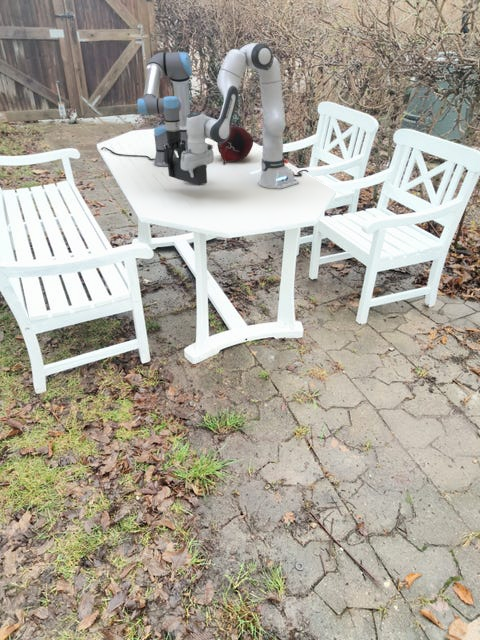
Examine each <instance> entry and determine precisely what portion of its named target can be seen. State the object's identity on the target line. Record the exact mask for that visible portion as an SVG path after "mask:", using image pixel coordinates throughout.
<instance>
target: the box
mask: <svg viewBox="0 0 480 640" xmlns="http://www.w3.org/2000/svg"><path fill="white" fill-rule="evenodd" d="M172 164H173V166H174V177H171V176H170V171H169V169H168V168H167V170H168V177H171V178H173V179H177V180H180V181H183V182H186V183H189V184H192V185H196V186H201V185H204V184H205V185H206V184H207V183H208V176H207V175H208V173H207V168H206V165H201V166H198V167H196V168H194V169H193V171H192V172H193V173H194V174H195V177H193V178H192V177H191V174H190V172H189V171H188V170H187V171H185V170H182V169H181V158H179V156H178V157H177V156H176V157H174V158H173V161H172Z"/></svg>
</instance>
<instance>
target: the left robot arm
mask: <svg viewBox="0 0 480 640" xmlns="http://www.w3.org/2000/svg"><path fill="white" fill-rule="evenodd" d="M145 75H146V76H145V82H144V90H143V95H142V97H140V98H138V99H137V102H136V103H137V104H136V105H137V111H138V113H139V114H140V115H164V124H162V125H158V126H156V127H155V128H154V129H153V136H154V145H155V155H154V158H151V157H149V156H148V155H143V154H142V155H139V154H123V153H118V152H115V151H113V150H111V149H110V148H108V147H106V146H103V147H101V149H100V150H103V149H105V150H107V151H109V152H111V153H112V154H114V155H117V156H122V157H138V158H139V157H141V158H148V160H150V161H154V165H155V166H157V167H163V168H164V167H165V168H167V170H168V169H169V171H170V176H171V178H173V177H174V166H173V164H172V161H173V158H174V157H177V156H178V158H181V154H182V153H183V151H187V150H186V149H185V147H188V144H187V140H188V135H187V130H186V120H187V116H188V115H189V114H190V113H191V107H190V106H191V105H190V95H189V83H188V82H189V81H190V79H191V76H193V68H192V62H191V58H190V55H189V53H188V52H184V51H183V52H182V51H172V52H171V51H169V52H166V51H165V52H163V51H161V52H158V53H156V54H154V55H153V56H152V57H150V59H149V60H148V61H147V63H146V66H145ZM163 77H169V80H170V82H172V88H173V95H171V96H170V95H168V96H164V97H159V92H160V84H161V79H163ZM170 176H169V177H170Z"/></svg>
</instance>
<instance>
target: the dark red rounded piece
mask: <svg viewBox="0 0 480 640" xmlns="http://www.w3.org/2000/svg"><path fill="white" fill-rule="evenodd" d="M253 146H254V138H253V137H252V135H251V134H250V132H249V131H248V130H246V129H245V128H244V127H241V126H231V133H230V136H229V138H228V140H227V141H226V142H224V143H217V150H218V153H219V154H220V157H221V159H222V160H223V162H222V163H223V165H225V163H226V162H227V161H228V162H238V161H242V160H244V159H245V158H248V156H249V155H250V152H251V151H252V148H253Z"/></svg>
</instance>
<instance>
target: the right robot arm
mask: <svg viewBox="0 0 480 640" xmlns="http://www.w3.org/2000/svg"><path fill="white" fill-rule="evenodd" d="M246 70H256V71H257V72H258V76H259V90H260V99H261V107H262V113H263V114H262V117H261V118H262V119H261V125H262V126H261V129H262V130H261V133H262V158H261V169H258V170H255V171H252V172H250V175H252V174H256V173H259V172H261V175H260V178H259V179H260V180H259V183H258V184H259V186H261V187H263V188H268V189H279V190H281V189H284V188H288V187H291V186H294V185H298V183H299V182H298V180H297V179H296V178H295V177H302V176H303V173H302V172H306V173H309V170H308V169H301V170H299V171H297V174H295V172H294V171H293V170H292V169H291V168H289V167H288V166H287V165H286V164H288V163H289V160H288V159H286V158H285V159H284V158H283V153H284V151H283V150H284V140H283V139H284V138H283V133H284V131H285V129H286V126H287V123H286V121H287V120H286V114H285V113H286V112H285V105H284V96H283V85H282V84H283V83H282V72H281V66H280V64H279V59H278V58H277V57H275V56H274V54H273V52H272V49H271V48H270V46H269V45H268V44H267V43H263V42H251V43H244V44H242V45H241V46H240V47H239V48H238V49H237V48H232V49H230V50H229V51H228V52H227V54H226V56H225V57H224V59H223V62H222V64H221V66H220V69H219V72H218V74H217V78H216V86H217V88H218V91H219V92H220V93H221V95H222V98H223V104H222V107H221V110H220V113H219V117H218V119H216V118H215V117H210V116H208V115H206V114H204V113H203V112H201V111H192V112H190V114H189V115H188V116H187V120H186V130H187V135H188V140H187V144H188V150H186V151H183V153H182V154H181V169H182V170H185V171H187V170H188V171H189V172H190V174H191V177H192V178H193V177H195V174H194V173H193V172H192V171H193V169H194V168H196V167H198V166H201V165H206V169H207V168H208V165H211V164H213V163H214V160H215V155H214V150H213V149H214V146H213V144H210V143H206V139H209V140H211V141H213V142H215V143H217V144H218V143H224V142H226V141H227V140H228V138H229V136H230V133H231V127H232V123H233V118H234V115H235V111H236V109H237V108H236V107H237V104H238V100H239V88H240V85H241V81H242V78H243V76H244V73H245V71H246Z"/></svg>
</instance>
